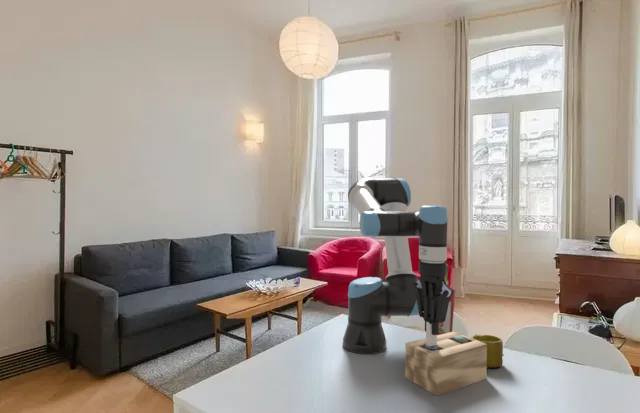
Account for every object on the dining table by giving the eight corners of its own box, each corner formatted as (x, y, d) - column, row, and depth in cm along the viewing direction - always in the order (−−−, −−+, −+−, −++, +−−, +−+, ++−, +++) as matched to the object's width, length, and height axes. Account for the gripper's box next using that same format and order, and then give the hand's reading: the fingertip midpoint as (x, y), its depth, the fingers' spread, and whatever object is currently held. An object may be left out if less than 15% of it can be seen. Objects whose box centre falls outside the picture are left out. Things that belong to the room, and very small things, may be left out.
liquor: (429, 342, 139) (431, 265, 138) (436, 337, 145) (437, 262, 144) (450, 347, 134) (451, 267, 134) (456, 341, 140) (457, 264, 140)
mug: (513, 367, 115) (501, 333, 117) (478, 374, 117) (467, 340, 119) (505, 359, 126) (494, 328, 129) (473, 365, 128) (463, 335, 131)
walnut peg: (449, 367, 115) (450, 337, 115) (459, 364, 117) (459, 334, 117) (460, 372, 112) (461, 341, 112) (470, 369, 114) (470, 339, 114)
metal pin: (420, 376, 109) (420, 344, 109) (430, 373, 111) (431, 342, 111) (431, 382, 106) (431, 349, 106) (441, 378, 108) (441, 346, 108)
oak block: (405, 377, 112) (405, 343, 112) (453, 362, 122) (453, 331, 122) (436, 395, 101) (437, 358, 101) (486, 378, 111) (487, 344, 111)
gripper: (406, 258, 112) (405, 339, 112) (441, 265, 100) (439, 355, 101) (425, 256, 115) (424, 335, 116) (460, 263, 104) (459, 350, 105)
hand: (431, 344), depth 108 cm, fingers closed
